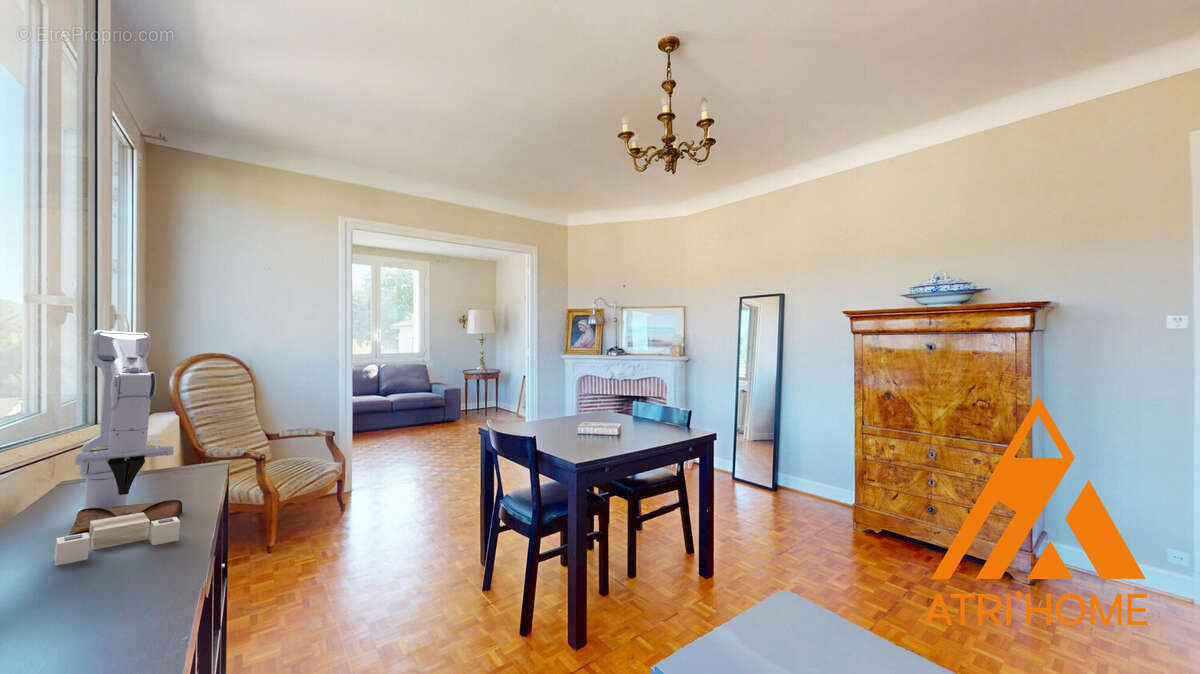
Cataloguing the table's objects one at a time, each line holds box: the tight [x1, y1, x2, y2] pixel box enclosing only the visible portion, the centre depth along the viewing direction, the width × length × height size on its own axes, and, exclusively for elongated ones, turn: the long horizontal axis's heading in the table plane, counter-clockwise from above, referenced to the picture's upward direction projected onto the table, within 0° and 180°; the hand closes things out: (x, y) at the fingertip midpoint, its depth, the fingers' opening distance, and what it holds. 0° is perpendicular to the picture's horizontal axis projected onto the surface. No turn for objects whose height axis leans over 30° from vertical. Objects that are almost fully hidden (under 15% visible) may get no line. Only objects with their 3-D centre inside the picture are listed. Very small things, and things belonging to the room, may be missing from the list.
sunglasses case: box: [67, 499, 183, 536], centre depth 106 cm, size 18×7×7 cm
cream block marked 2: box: [148, 517, 181, 546], centre depth 98 cm, size 4×4×4 cm
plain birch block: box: [88, 512, 151, 551], centre depth 97 cm, size 8×8×4 cm
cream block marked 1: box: [53, 533, 90, 567], centre depth 88 cm, size 4×4×4 cm
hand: (123, 493), depth 98 cm, fingers closed
